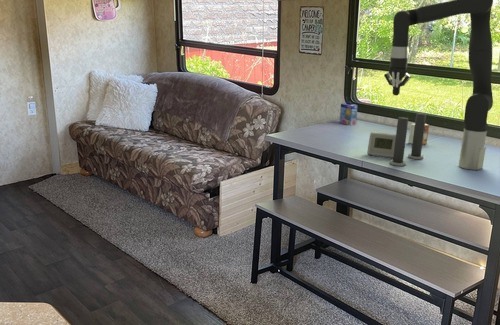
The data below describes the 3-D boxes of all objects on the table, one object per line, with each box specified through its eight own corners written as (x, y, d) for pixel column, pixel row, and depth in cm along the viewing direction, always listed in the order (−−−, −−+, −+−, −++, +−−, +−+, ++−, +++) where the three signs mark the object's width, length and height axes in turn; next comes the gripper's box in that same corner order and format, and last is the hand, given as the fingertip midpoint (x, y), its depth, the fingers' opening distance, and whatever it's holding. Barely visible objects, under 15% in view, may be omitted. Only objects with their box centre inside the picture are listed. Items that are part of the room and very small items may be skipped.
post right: (425, 157, 236) (431, 114, 230) (419, 160, 231) (424, 115, 225) (412, 154, 241) (417, 112, 235) (405, 157, 236) (410, 113, 230)
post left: (408, 164, 224) (414, 118, 219) (400, 166, 219) (406, 120, 214) (394, 161, 229) (399, 116, 223) (386, 163, 224) (392, 117, 218)
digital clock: (365, 154, 238) (367, 133, 235) (372, 151, 246) (374, 130, 243) (398, 161, 229) (400, 138, 226) (404, 157, 236) (407, 135, 233)
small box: (414, 145, 259) (417, 125, 256) (407, 142, 264) (410, 123, 261) (427, 144, 262) (429, 124, 259) (419, 141, 267) (422, 122, 264)
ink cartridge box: (338, 122, 311) (340, 99, 307) (345, 121, 314) (346, 99, 310) (350, 125, 304) (352, 102, 300) (356, 124, 307) (358, 101, 303)
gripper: (416, 57, 222) (413, 95, 226) (390, 55, 231) (387, 92, 235) (408, 58, 216) (405, 97, 221) (381, 56, 225) (378, 94, 230)
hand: (395, 95), depth 228 cm, fingers closed
